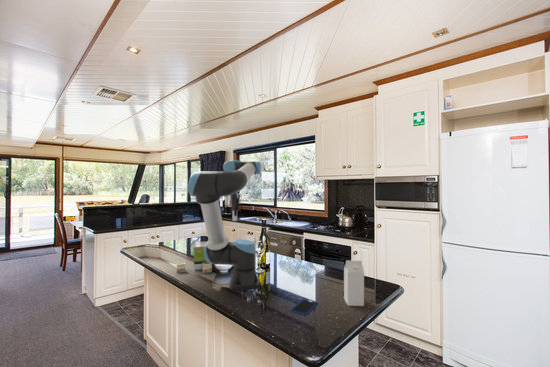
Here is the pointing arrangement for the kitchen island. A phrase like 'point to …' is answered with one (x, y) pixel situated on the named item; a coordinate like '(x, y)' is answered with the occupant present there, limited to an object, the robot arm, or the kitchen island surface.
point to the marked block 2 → (206, 267)
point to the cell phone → (304, 307)
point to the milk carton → (354, 283)
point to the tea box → (199, 255)
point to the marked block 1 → (181, 267)
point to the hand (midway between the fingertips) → (234, 220)
